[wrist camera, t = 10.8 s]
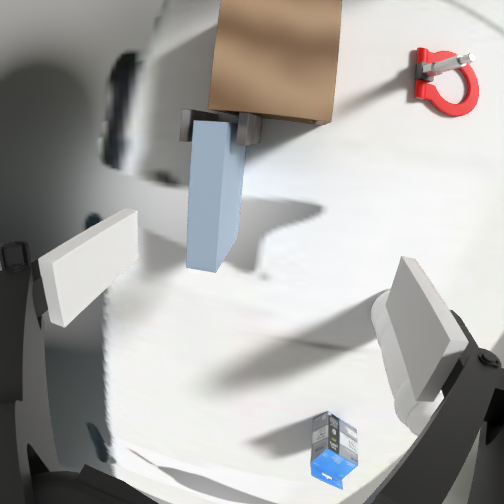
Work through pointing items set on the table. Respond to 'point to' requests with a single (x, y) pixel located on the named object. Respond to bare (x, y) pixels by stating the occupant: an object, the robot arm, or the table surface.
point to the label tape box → (333, 449)
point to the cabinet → (272, 64)
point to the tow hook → (437, 65)
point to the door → (213, 193)
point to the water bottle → (400, 372)
